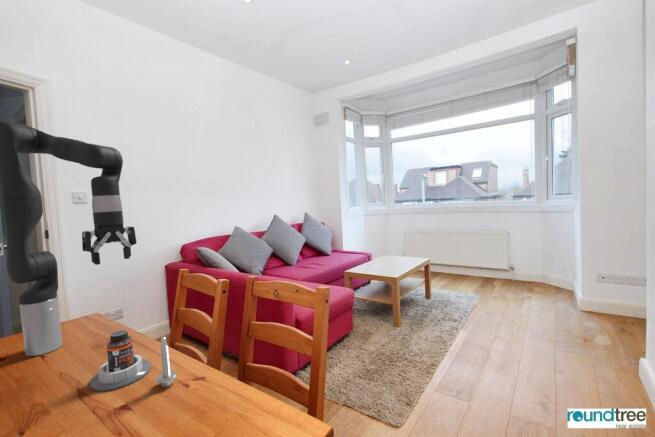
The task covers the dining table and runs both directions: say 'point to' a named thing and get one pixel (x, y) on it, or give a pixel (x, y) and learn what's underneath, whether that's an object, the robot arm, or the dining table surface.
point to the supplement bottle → (120, 351)
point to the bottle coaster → (120, 384)
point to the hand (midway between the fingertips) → (112, 261)
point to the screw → (165, 366)
